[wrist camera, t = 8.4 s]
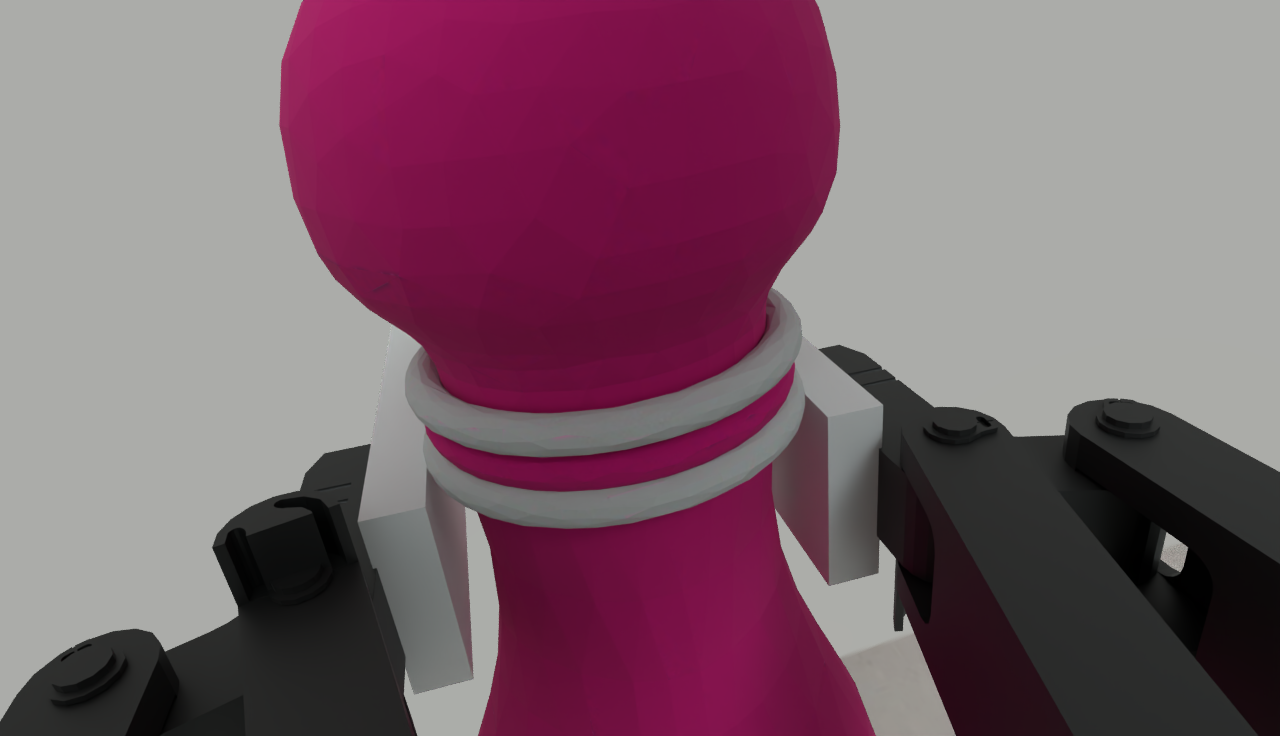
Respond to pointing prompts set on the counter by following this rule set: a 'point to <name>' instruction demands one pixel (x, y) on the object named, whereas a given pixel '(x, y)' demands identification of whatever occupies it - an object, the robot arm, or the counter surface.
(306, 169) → the pepper mill
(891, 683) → the counter surface
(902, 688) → the counter surface
